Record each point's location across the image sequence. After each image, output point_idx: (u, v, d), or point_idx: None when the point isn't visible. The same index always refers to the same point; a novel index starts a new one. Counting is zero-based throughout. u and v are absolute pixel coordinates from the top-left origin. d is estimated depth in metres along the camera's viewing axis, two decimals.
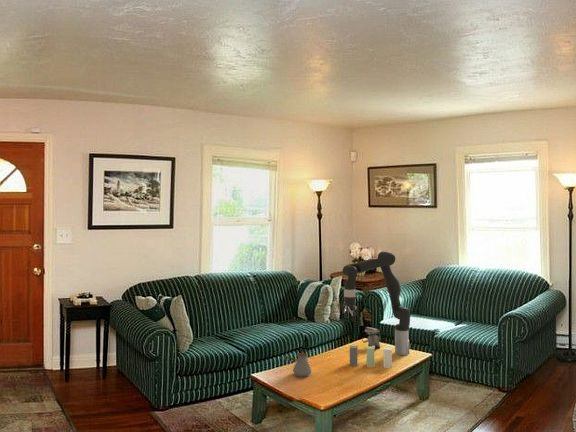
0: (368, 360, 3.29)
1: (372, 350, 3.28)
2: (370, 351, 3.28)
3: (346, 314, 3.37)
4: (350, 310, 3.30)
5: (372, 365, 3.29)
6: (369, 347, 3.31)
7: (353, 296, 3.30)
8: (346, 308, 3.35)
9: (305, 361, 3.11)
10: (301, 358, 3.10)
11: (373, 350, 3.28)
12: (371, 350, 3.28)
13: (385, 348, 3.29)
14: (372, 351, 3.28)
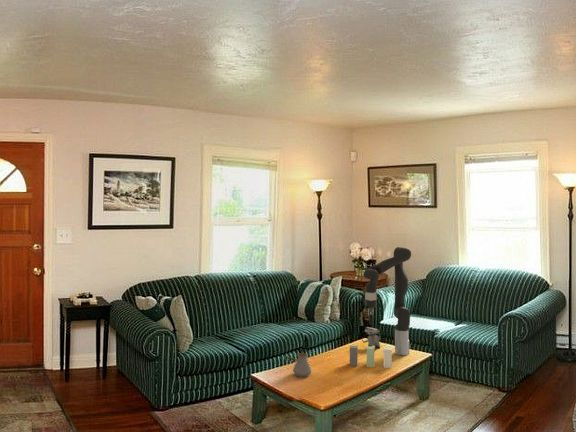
0: (368, 360, 3.29)
1: (372, 350, 3.28)
2: (370, 351, 3.28)
3: None
4: None
5: (372, 365, 3.29)
6: (369, 347, 3.31)
7: None
8: None
9: (305, 361, 3.11)
10: (301, 358, 3.10)
11: (373, 350, 3.28)
12: (371, 350, 3.28)
13: (385, 348, 3.29)
14: (372, 351, 3.28)
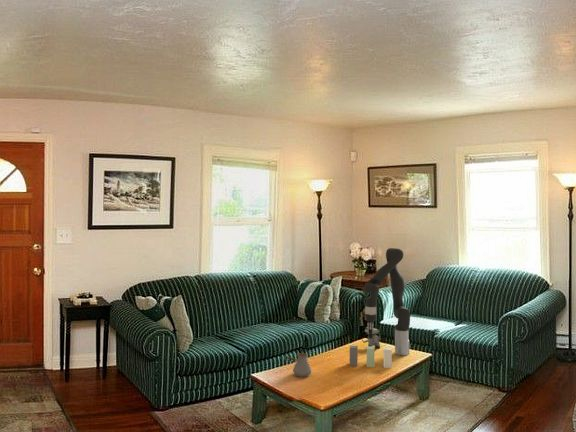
0: (368, 360, 3.29)
1: (372, 350, 3.28)
2: (370, 351, 3.28)
3: None
4: None
5: (372, 365, 3.29)
6: (369, 347, 3.31)
7: None
8: (372, 325, 3.39)
9: (305, 361, 3.11)
10: (301, 358, 3.10)
11: (373, 350, 3.28)
12: (371, 350, 3.28)
13: (385, 348, 3.29)
14: (372, 351, 3.28)
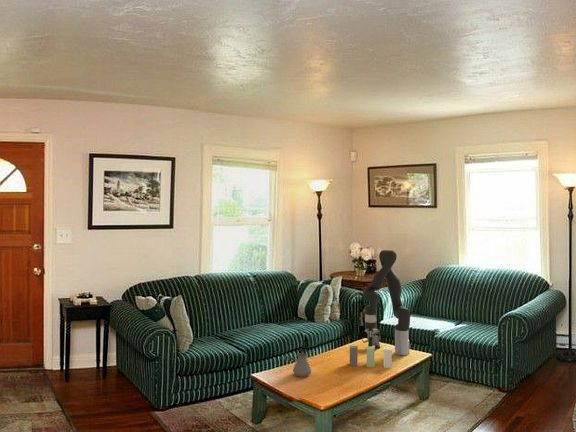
0: (368, 360, 3.29)
1: (372, 350, 3.28)
2: (370, 351, 3.28)
3: None
4: None
5: (372, 365, 3.29)
6: (369, 347, 3.31)
7: None
8: (372, 333, 3.39)
9: (305, 361, 3.11)
10: (301, 358, 3.10)
11: (373, 350, 3.28)
12: (371, 350, 3.28)
13: (385, 348, 3.29)
14: (372, 351, 3.28)
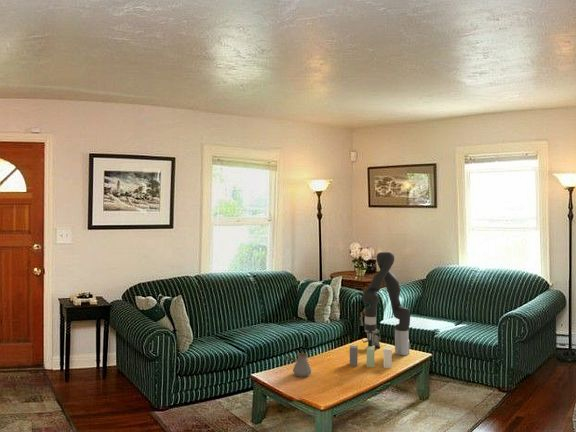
0: (368, 360, 3.28)
1: (372, 350, 3.27)
2: (370, 351, 3.27)
3: None
4: None
5: (372, 365, 3.28)
6: (369, 347, 3.30)
7: None
8: None
9: (305, 361, 3.11)
10: (301, 358, 3.10)
11: (373, 351, 3.27)
12: (371, 351, 3.27)
13: (385, 348, 3.29)
14: (372, 352, 3.27)
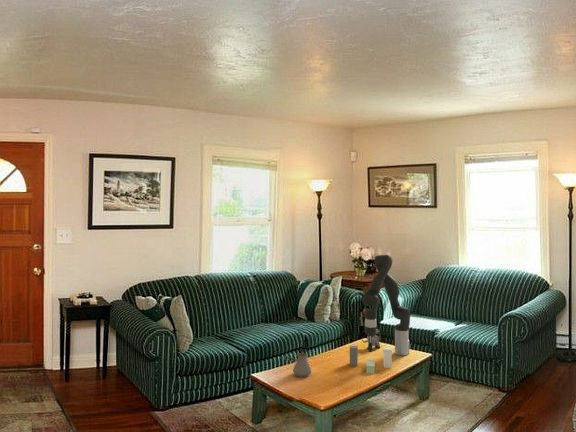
0: None
1: None
2: None
3: None
4: None
5: None
6: (369, 369, 3.17)
7: None
8: (372, 339, 3.26)
9: (305, 361, 3.11)
10: (301, 358, 3.10)
11: None
12: None
13: (385, 348, 3.29)
14: None
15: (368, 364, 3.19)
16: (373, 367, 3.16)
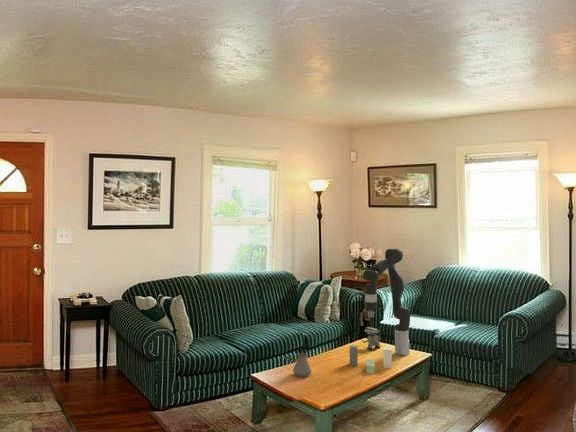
0: None
1: None
2: None
3: None
4: None
5: None
6: (369, 369, 3.17)
7: None
8: None
9: (305, 361, 3.11)
10: (301, 358, 3.10)
11: None
12: None
13: (385, 348, 3.29)
14: None
15: (368, 364, 3.19)
16: (373, 367, 3.16)
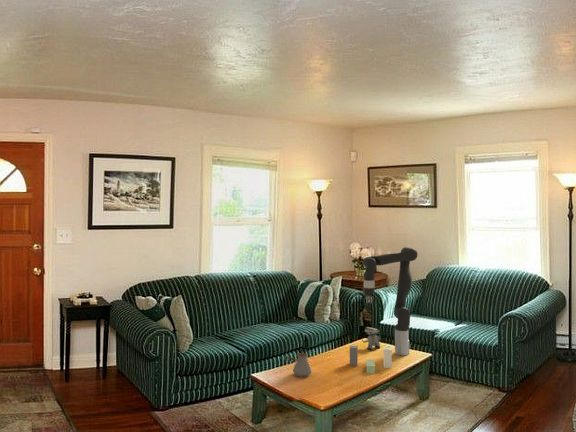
0: None
1: None
2: None
3: None
4: None
5: None
6: (369, 369, 3.17)
7: None
8: None
9: (305, 361, 3.11)
10: (301, 358, 3.10)
11: None
12: None
13: (385, 348, 3.29)
14: None
15: (368, 364, 3.19)
16: (373, 367, 3.16)
